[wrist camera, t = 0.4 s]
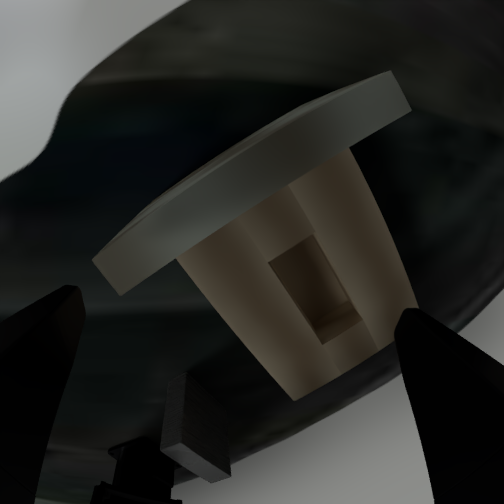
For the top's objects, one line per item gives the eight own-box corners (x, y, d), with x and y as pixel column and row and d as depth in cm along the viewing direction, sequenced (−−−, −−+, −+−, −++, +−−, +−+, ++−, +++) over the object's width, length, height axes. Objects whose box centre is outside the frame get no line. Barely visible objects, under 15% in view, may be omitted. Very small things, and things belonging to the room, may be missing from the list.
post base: (284, 370, 27) (319, 482, 16) (154, 199, 21) (91, 260, 10) (399, 297, 26) (482, 379, 15) (301, 105, 20) (390, 70, 9)
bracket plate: (209, 416, 28) (211, 483, 21) (169, 380, 26) (159, 450, 19) (226, 409, 28) (231, 476, 20) (186, 371, 26) (180, 442, 18)
